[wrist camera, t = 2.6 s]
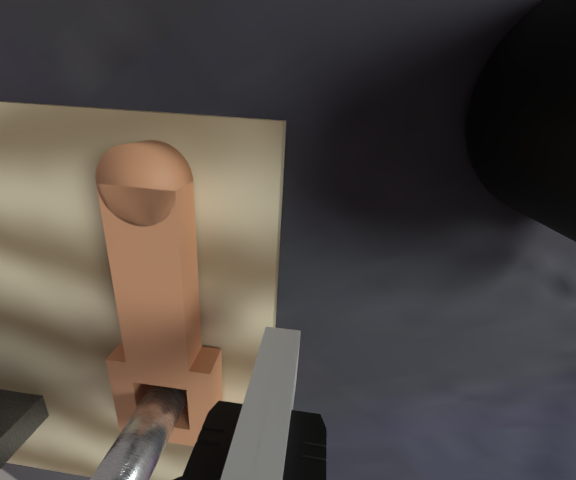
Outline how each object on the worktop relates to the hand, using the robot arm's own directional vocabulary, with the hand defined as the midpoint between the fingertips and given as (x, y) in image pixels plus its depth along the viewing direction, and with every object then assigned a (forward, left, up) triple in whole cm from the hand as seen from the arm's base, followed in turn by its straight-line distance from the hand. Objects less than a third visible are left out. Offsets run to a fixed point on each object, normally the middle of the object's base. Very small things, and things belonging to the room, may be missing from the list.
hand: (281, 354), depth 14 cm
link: (+1, -7, -4) cm, 8 cm away
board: (+5, -12, -5) cm, 14 cm away
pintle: (+7, -7, -4) cm, 11 cm away
